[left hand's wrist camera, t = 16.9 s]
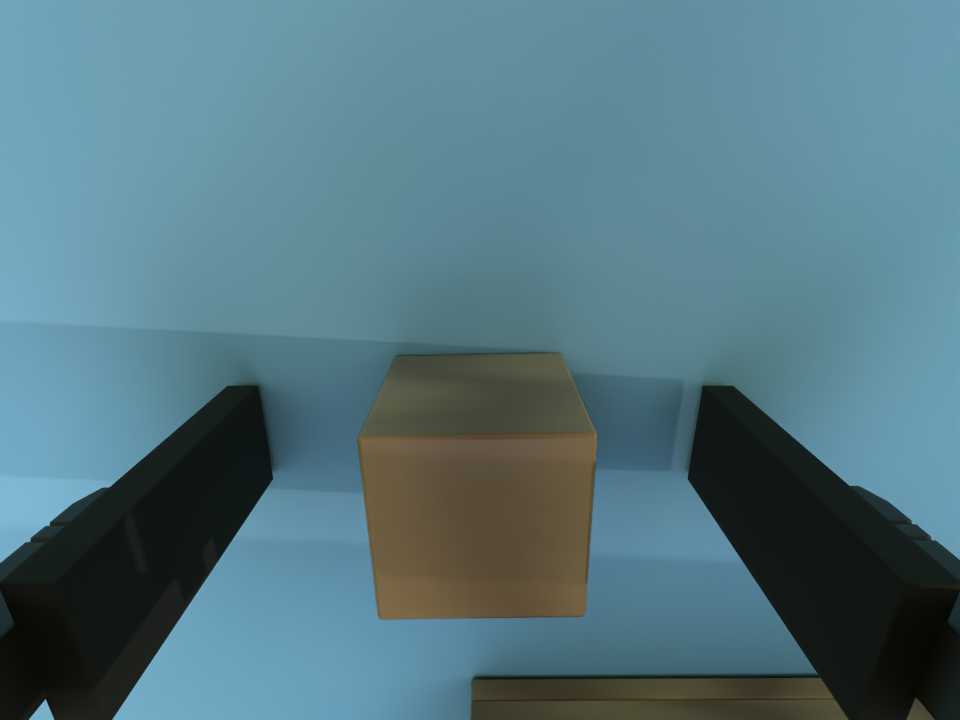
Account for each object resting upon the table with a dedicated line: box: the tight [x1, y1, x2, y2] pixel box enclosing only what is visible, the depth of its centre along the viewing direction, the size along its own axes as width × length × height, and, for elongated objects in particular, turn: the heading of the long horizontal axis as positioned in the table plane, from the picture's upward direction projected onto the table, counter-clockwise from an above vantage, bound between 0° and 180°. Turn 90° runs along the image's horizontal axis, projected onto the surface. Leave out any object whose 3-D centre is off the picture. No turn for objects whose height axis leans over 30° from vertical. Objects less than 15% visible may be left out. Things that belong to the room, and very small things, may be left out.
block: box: [357, 353, 597, 620], centre depth 11 cm, size 4×4×4 cm
